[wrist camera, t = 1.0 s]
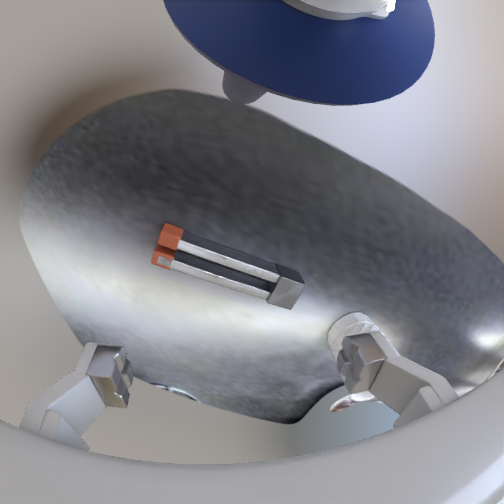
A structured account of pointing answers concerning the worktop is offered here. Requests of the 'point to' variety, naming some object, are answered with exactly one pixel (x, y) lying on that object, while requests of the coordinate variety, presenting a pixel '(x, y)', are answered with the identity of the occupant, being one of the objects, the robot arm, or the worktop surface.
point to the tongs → (273, 291)
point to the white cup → (348, 327)
